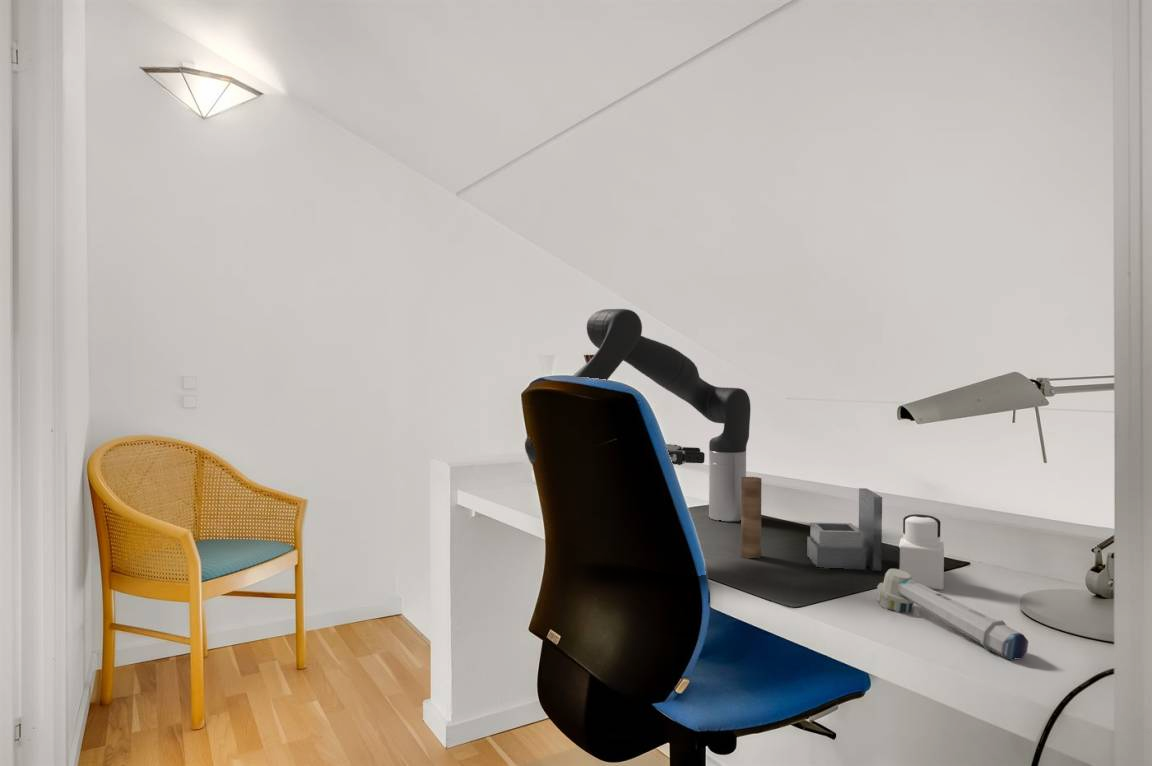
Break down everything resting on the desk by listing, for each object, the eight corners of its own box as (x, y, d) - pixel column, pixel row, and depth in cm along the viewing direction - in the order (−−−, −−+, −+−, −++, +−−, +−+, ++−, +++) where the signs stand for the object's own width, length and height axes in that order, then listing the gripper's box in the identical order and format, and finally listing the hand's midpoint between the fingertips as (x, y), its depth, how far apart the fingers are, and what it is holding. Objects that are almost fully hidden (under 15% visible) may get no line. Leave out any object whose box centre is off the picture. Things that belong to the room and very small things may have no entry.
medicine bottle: (900, 574, 136) (900, 510, 136) (942, 579, 133) (943, 514, 132) (898, 585, 129) (899, 518, 129) (943, 590, 126) (944, 521, 126)
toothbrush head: (1004, 635, 96) (872, 560, 119) (997, 682, 97) (868, 599, 120) (1034, 630, 97) (899, 558, 121) (1027, 677, 98) (894, 596, 122)
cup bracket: (806, 555, 150) (807, 487, 149) (866, 556, 148) (866, 488, 148) (817, 568, 140) (818, 496, 139) (881, 570, 139) (882, 497, 138)
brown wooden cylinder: (739, 553, 151) (740, 476, 151) (759, 554, 151) (759, 476, 150) (742, 558, 147) (742, 479, 147) (762, 559, 147) (762, 480, 146)
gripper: (623, 437, 143) (706, 440, 142) (623, 431, 157) (699, 434, 156) (622, 475, 143) (705, 478, 142) (622, 466, 157) (698, 469, 156)
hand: (702, 455), depth 149 cm, fingers open, 8 cm apart
